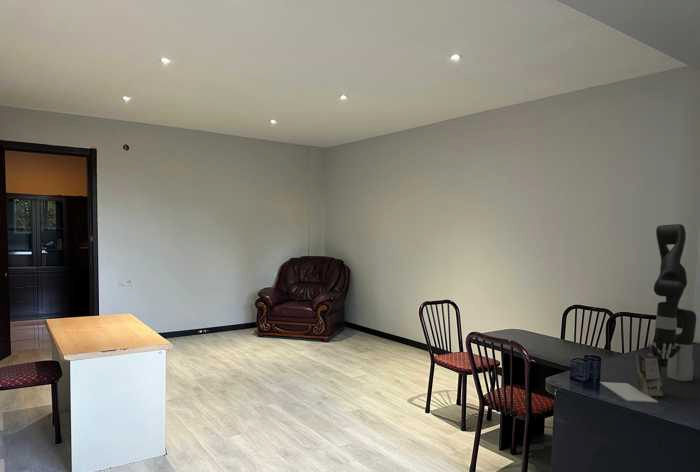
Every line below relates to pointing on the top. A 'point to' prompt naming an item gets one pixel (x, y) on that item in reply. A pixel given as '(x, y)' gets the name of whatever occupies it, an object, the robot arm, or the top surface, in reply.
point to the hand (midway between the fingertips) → (662, 366)
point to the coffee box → (649, 374)
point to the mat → (628, 392)
